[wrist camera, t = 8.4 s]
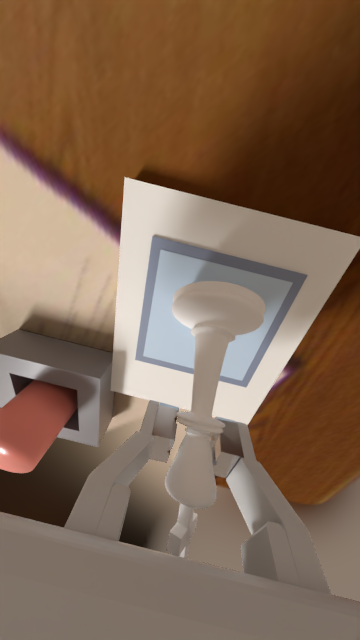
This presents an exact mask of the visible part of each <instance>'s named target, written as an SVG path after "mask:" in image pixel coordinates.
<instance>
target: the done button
mask: <svg viewBox="0 0 360 640" xmlns="http://www.w3.org/2000/svg"><path fill="white" fill-rule="evenodd" d="M77 408H78V398H77V390H75V389H71V388H67V387H63V386H59V385H55V384H51V383H47V382H43V381H39V380H35V379H34V380H33V381H32V382H31V383H30V384H29V385H28V386H26V387H25V388H24V389H23V390H22V391H21V392H19V393H18V394H17V395H16V396H15V397H14V398H13V399H11V400H10V401H9V402H8V403H7V404H6V405H4V406H3V407H2V408H1V409H0V469H3V470H6V471H10V472H15V473H27V472H30V471H32V470H33V469H34V468H35V466H36V465H37V464H38V462H39V461H40V459H41V458H42V456H43V455H44V454H45V452H46V451H47V450H48V448H49V447H50V445H51V444H52V443H53V441H54V440H55V438H56V437H57V436H58V434H59V433H60V431H61V430H62V429H63V427H64V426H65V424H66V423H67V422H68V420H69V419H70V417H71V416H72V415H73V413H74V412H75V410H76V409H77Z"/></svg>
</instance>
